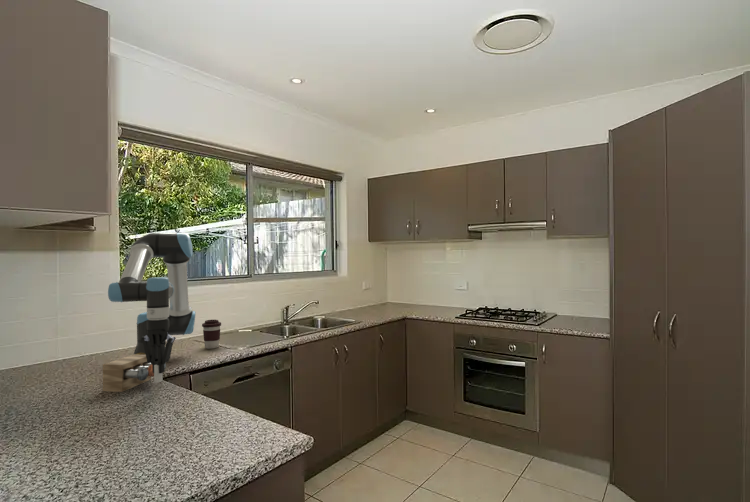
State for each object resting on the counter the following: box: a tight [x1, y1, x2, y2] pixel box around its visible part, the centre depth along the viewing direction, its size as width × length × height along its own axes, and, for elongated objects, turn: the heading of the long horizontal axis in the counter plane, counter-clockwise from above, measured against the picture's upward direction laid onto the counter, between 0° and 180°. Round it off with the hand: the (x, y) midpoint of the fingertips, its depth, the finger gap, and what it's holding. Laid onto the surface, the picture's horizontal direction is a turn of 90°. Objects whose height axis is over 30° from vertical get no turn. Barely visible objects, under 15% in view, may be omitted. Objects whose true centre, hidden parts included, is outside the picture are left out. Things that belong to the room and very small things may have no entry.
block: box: [102, 354, 152, 393], centre depth 164 cm, size 16×8×10 cm, turn 171°
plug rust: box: [133, 364, 154, 378], centre depth 164 cm, size 5×13×5 cm, turn 81°
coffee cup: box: [201, 319, 222, 350], centre depth 232 cm, size 10×10×15 cm
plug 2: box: [143, 362, 167, 372], centre depth 169 cm, size 5×13×5 cm, turn 81°
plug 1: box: [123, 368, 148, 381], centre depth 158 cm, size 5×13×5 cm, turn 81°
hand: (158, 381), depth 156 cm, fingers closed
